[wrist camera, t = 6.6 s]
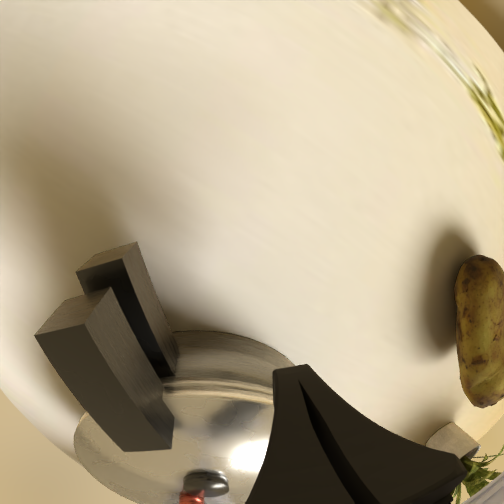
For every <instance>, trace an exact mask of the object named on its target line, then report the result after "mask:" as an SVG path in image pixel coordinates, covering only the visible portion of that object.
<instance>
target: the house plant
mask: <svg viewBox="0 0 504 504" xmlns="http://www.w3.org/2000/svg"><path fill="white" fill-rule="evenodd" d="M426 447H429V448H432V449H436V450H440V451H445V452H449V453H453V454H455V455H456V456H457V457H458V458H459V459H460V461H461V462H462V464H463V465H464V467H465V468H466V470H467V471H468V473H467V476H466V477H465V479H464V480H463V481H462V483H463V484H464V485H465V486H466V488H467V492H468V493H469V495H470V497H472V496H473V495H474V494H476V493H477V492H478V491H480V490H481V489H482V488H484V487H485V486H486V485H488V484H489V482H487V481H486V480H485V479H490V480H494V479H495V478H496V477H497V476H499V475H500V474H501V473H498V472H497V473H495V471H496V470H494V471H487V469H488V468H484V469H483V468H481V467H484V466H487V465H488V464H490V463H491V462H490V461H492V460H494V459H495V458H497V457H498V456H499V455H500V454H501V452H502V451H503V449H504V446H503V448H502V450H501V451H500V453H499V454H498V455H494V456H496V457H495V458H494V459H492V460H490V461H488V462H490V463H488V462H484V461H485V460H487V459H488V456H487V455H485V457H484V459H483V461H482V462H483V463H482V462H475V461H471V460H470V459H472V458H476V457H473V456H474V455H475V454H476V453H477V452H478V451H479V449H480V447H481V445H480V444H478V443H477V442H476V441H475V440H474V439H473V438H471V437H470V436H469V435H468V434H467V433H465V432H464V431H463V430H462V429H461V428H460V427H458V426H457V425H456V424H455V423H449V424H447V425H445V426H444V427H442V428H441V429H440V430H438V431H437V432H436V433H435V434H434V435H433V436H432V437H431V438H430V439H429V440H428V441H427V443H426ZM502 455H503V454H502ZM489 457H491V456H489ZM477 458H481V457H477ZM481 477H483V478H481ZM454 491H455V493H454ZM453 493H454V496H453V498H454V497H455V496H456V494H457V500H456V504H459V503H460V498H461V483H460V484H459V485H458V486H457V487H456V490H455V489H454V490H453V491H452V492H451V493H450V494H451V495H453Z"/></svg>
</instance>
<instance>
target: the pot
mask: <svg viewBox="0 0 504 504" xmlns="http://www.w3.org/2000/svg"><path fill="white" fill-rule="evenodd" d="M76 274H77V276H78V279H79V281H80V284H81V286H82V288H83V291H84V293H85V294H88V293H91V292H95V291H98V290H101V289H105V288H108V287H111V288H112V290H113V292H114V294H115V297H116V299H117V301H118V303H119V305H120V307H121V309H122V311H123V313H124V315H125V317H126V319H127V321H128V323H129V325H130V327H131V329H132V331H133V333H134V335H135V337H136V339H137V341H138V343H139V344H140V346H141V348H142V350H143V352H144V353H145V355H146V357H147V359H148V361H149V362H150V364H151V366H152V367H153V369H154V371H155V373H156V374H157V376H158V378H159V379H160V381H161V382H162V384H163V386H164V387H177V386H194V387H216V388H227V389H237V390H243V391H249V392H256V393H261V394H265V395H269V396H273V379H272V372H273V371H274V370H275V369H279V368H286V367H292V366H295V365H294V364H293V363H292V362H291V361H290V360H289V359H287V358H286V357H285V356H284V355H282V354H281V353H279V352H278V351H276V350H274V349H272V348H270V347H268V346H266V345H264V344H262V343H260V342H257V341H254V340H251V339H249V338H245V337H241V336H237V335H233V334H228V333H221V332H214V331H179V332H172V331H171V329H170V327H169V324H168V322H167V320H166V317H165V315H164V312H163V310H162V308H161V305H160V303H159V300H158V298H157V295H156V293H155V290H154V287H153V285H152V282H151V280H150V277H149V274H148V272H147V269H146V266H145V263H144V260H143V258H142V255H141V252H140V249H139V246H138V243H137V242H134V243H131V244H128V245H124V246H121V247H118V248H115V249H111V250H108V251H105V252H102V253H99V254H96V255H94V256H93V257H92V258H91V259H90V260H89V261H87V262H86V263H85V264H84V265H83V266H82V267H81V268H80V269H78V270H77V271H76Z"/></svg>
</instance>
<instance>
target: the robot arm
mask: <svg viewBox="0 0 504 504" xmlns="http://www.w3.org/2000/svg"><path fill="white" fill-rule="evenodd" d="M272 379H273V405H274V416H273V422H272V428H271V433H270V438H269V442H268V446H267V449H266V453H265V456H264V459H263V462H262V465H261V468H260V471H259V474H258V476H257V478H256V481H255V483H254V485H253V488H252V490H251V492H250V495H249V497H248V499H247V501H246V502H245V504H451V503H450V502H452V501H453V497H452V495H451V494H450V493H451V492H452V491H453V490H454V489H455V488H456V487H457V486H458V485H459V484H460V483H461V482H462V481H463V480H464V479H465V477H466V476H467V473H468V471H467V470H466V468H465V467H464V465H463V464H462V462H461V461H460V459H459V458H458V457H457V456H456V455H455V454H453V453H449V452H445V451H440V450H436V449H432V448H429V447H426V446H423V445H420V444H417V443H414V442H412V441H410V440H407V439H405V438H403V437H401V436H398V435H396V434H394V433H392V432H390V431H388V430H386V429H385V428H383V427H381V426H379V425H378V424H376V423H375V422H373V421H371V420H370V419H368V418H367V417H365V416H364V415H363V414H361V413H360V412H358V411H357V410H356V409H355V408H353V407H352V406H351V405H349V404H348V403H347V402H346V401H345V400H343V399H342V398H341V397H340V396H339V395H338V394H337V393H336V392H335V391H333V390H332V389H331V388H330V387H329V386H328V385H327V384H326V383H325V382H324V381H323V380H322V379H321V378H320V377H319V376H318V375H317V374H316V372H315V371H314V370H313V369H312V368H311V367H310V366H309V365H308V364H304V365H298V366H292V367H286V368H279V369H275V370H274V371H273V372H272ZM462 504H504V472H502V473H501V474H500V475H499V476H497V477H496V478H495V479H494V480H493V481H491V482H490V483H489V484H488V485H486V486H485V487H484V488H482V489H481V490H480V491H478V492H477V493H476V494H474V495H473V496H472V497H470V498H469V499H467V500H466V501H465V502H463V503H462Z"/></svg>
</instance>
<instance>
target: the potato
mask: <svg viewBox="0 0 504 504" xmlns="http://www.w3.org/2000/svg"><path fill="white" fill-rule="evenodd" d="M454 291H455V301H456V304H457V306H458V308H457V317H456V344H457V354H458V362H459V369H460V380H461V384H462V388H463V391H464V393H465V394H466V396H467V397H468V399H469V400H470V402H471V403H472V404H473V405H474V406H477V407H480V408H485V407H487V406H492V405H494V404H496V403H497V402H498V401H500V400H501V399H503V398H504V271H503V270H502V268H501V266H500V265H499V264H498V263H497V262H496V261H495V260H494V259H491V258H488V257H486V256H483V255H476V256H473V257H471V258H469V259H467V260H466V261H465V262H464V263H463V265H462V266H461V268H460V270H459V273H458V275H457V279H456V283H455V287H454Z"/></svg>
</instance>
